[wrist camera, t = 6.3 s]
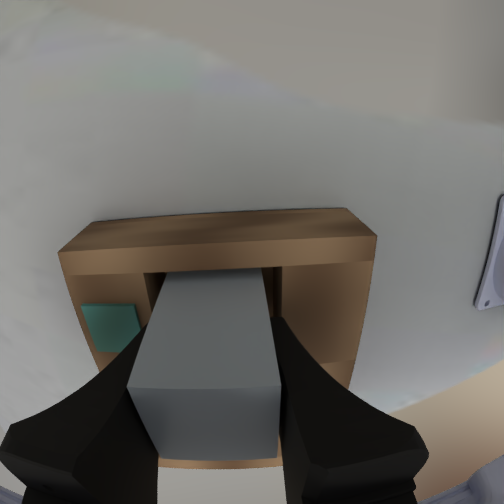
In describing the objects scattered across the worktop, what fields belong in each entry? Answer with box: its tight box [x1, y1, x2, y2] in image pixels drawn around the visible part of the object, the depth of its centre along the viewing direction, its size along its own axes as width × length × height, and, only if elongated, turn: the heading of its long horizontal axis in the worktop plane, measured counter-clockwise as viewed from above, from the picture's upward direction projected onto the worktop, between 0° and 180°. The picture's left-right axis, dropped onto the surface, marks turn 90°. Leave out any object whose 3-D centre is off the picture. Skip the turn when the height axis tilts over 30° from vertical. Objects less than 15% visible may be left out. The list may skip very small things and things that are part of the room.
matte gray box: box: [127, 267, 281, 461], centre depth 10 cm, size 4×4×7 cm
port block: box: [58, 208, 377, 469], centre depth 15 cm, size 12×16×4 cm
